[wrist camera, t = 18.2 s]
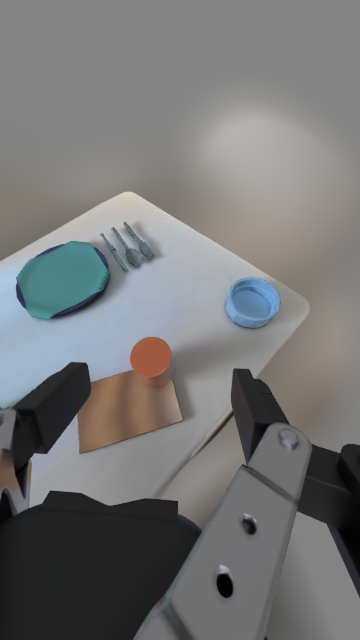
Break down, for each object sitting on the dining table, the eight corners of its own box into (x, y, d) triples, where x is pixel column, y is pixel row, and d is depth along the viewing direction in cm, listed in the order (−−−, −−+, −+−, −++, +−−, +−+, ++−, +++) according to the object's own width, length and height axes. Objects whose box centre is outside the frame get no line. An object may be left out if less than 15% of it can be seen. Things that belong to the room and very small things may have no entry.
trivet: (167, 361, 36) (166, 359, 35) (183, 420, 32) (183, 420, 31) (78, 387, 34) (76, 386, 34) (82, 453, 30) (79, 454, 29)
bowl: (277, 298, 41) (286, 287, 37) (264, 337, 37) (272, 328, 34) (234, 283, 43) (238, 270, 40) (217, 318, 39) (220, 308, 36)
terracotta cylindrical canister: (180, 362, 35) (178, 347, 27) (165, 392, 33) (158, 385, 25) (153, 349, 36) (143, 330, 28) (136, 377, 34) (121, 365, 26)
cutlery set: (13, 272, 47) (5, 266, 45) (126, 221, 53) (123, 213, 51) (35, 337, 39) (27, 332, 37) (164, 268, 46) (163, 261, 44)
